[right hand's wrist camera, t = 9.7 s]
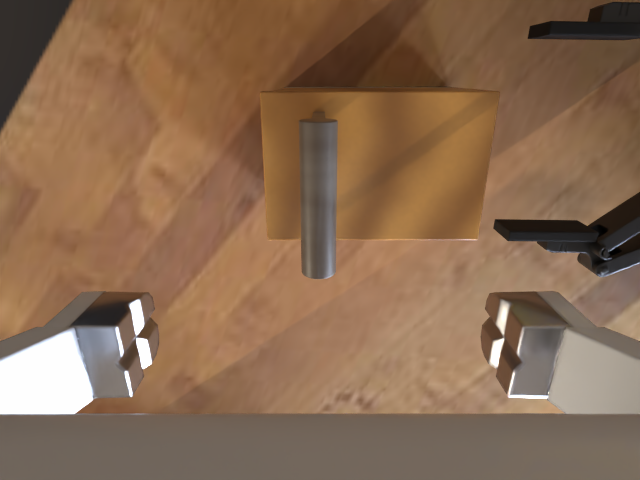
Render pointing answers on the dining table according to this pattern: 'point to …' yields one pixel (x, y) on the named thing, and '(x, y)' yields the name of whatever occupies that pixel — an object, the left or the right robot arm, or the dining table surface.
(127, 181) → the dining table surface
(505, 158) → the dining table surface
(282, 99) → the lid
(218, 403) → the dining table surface
